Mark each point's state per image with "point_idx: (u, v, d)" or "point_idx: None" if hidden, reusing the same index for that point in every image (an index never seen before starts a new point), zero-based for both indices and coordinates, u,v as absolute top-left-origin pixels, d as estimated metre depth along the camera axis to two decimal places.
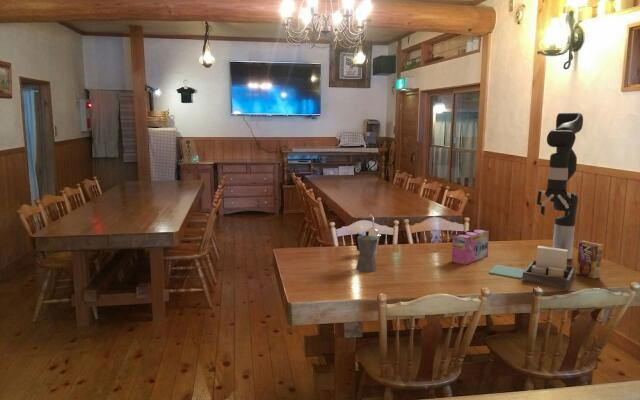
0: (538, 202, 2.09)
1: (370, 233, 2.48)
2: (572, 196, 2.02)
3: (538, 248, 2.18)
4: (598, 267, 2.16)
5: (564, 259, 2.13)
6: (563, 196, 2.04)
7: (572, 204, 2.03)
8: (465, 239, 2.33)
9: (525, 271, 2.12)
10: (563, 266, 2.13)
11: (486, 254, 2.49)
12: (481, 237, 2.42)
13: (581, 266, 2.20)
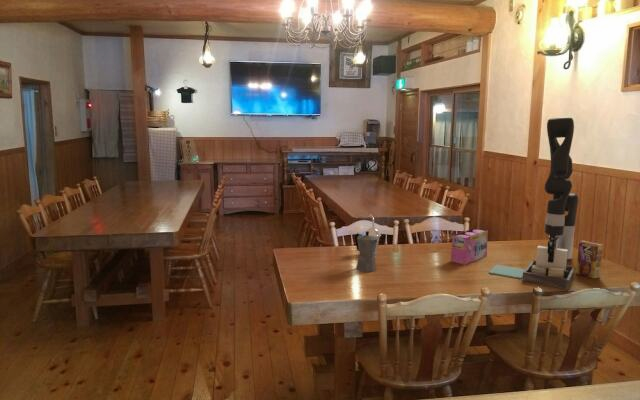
0: (553, 252, 2.12)
1: (370, 233, 2.48)
2: None
3: (538, 248, 2.18)
4: (598, 267, 2.16)
5: (564, 259, 2.13)
6: None
7: None
8: (464, 239, 2.33)
9: (525, 271, 2.12)
10: (563, 266, 2.13)
11: (485, 254, 2.49)
12: (480, 237, 2.42)
13: (581, 266, 2.20)
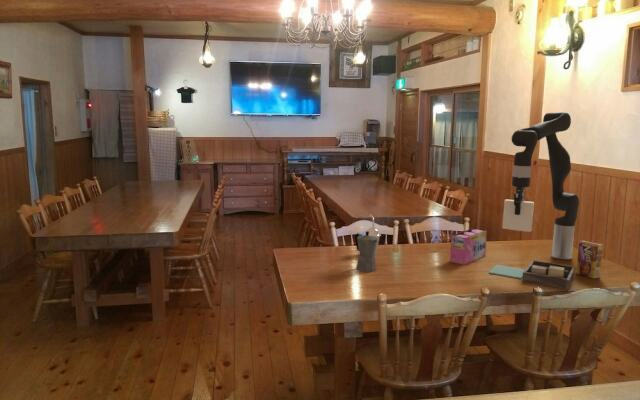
0: (520, 203, 2.13)
1: (370, 233, 2.48)
2: None
3: (505, 201, 2.19)
4: (598, 267, 2.16)
5: (530, 211, 2.14)
6: None
7: None
8: (464, 239, 2.33)
9: (525, 271, 2.12)
10: (529, 218, 2.14)
11: (484, 254, 2.49)
12: (479, 237, 2.43)
13: (581, 266, 2.20)
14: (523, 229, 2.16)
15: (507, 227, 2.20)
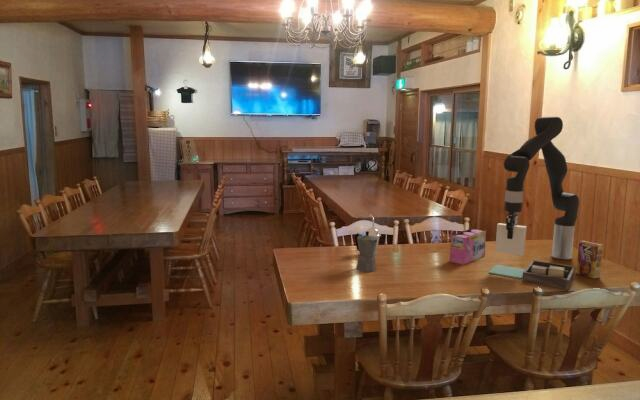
0: (512, 228, 2.16)
1: (370, 233, 2.48)
2: (517, 217, 2.24)
3: (498, 225, 2.22)
4: (598, 267, 2.16)
5: (522, 235, 2.17)
6: None
7: (516, 224, 2.23)
8: (463, 239, 2.33)
9: (525, 271, 2.12)
10: (521, 242, 2.17)
11: (483, 254, 2.49)
12: (478, 237, 2.43)
13: (581, 266, 2.20)
14: (515, 253, 2.19)
15: (500, 251, 2.23)
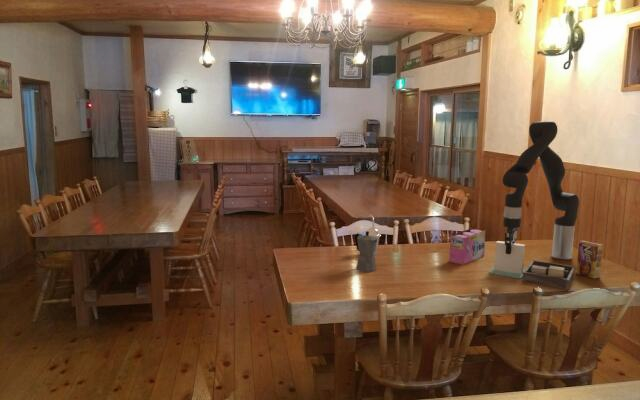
0: (510, 243, 2.16)
1: (370, 233, 2.48)
2: (516, 231, 2.25)
3: (497, 243, 2.23)
4: (598, 267, 2.16)
5: (521, 254, 2.18)
6: None
7: None
8: (463, 239, 2.33)
9: (525, 271, 2.12)
10: (520, 260, 2.19)
11: (483, 254, 2.49)
12: (478, 237, 2.43)
13: (581, 266, 2.20)
14: (514, 271, 2.21)
15: (499, 268, 2.24)
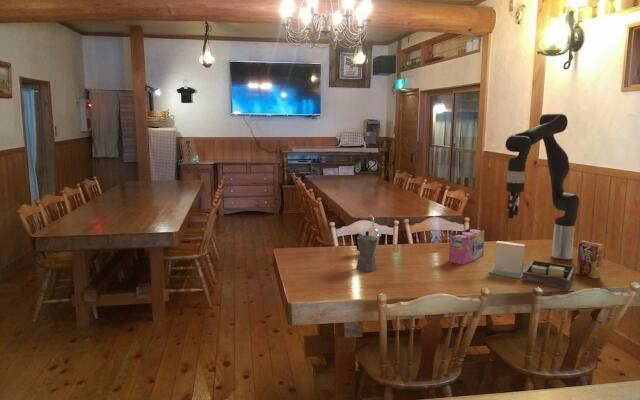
0: (513, 207, 2.13)
1: (370, 233, 2.48)
2: None
3: (497, 243, 2.23)
4: (598, 267, 2.16)
5: (521, 254, 2.18)
6: None
7: (519, 202, 2.23)
8: (463, 239, 2.33)
9: (525, 271, 2.12)
10: (520, 260, 2.19)
11: (482, 254, 2.49)
12: (477, 237, 2.43)
13: (581, 266, 2.20)
14: (514, 271, 2.21)
15: (499, 268, 2.24)
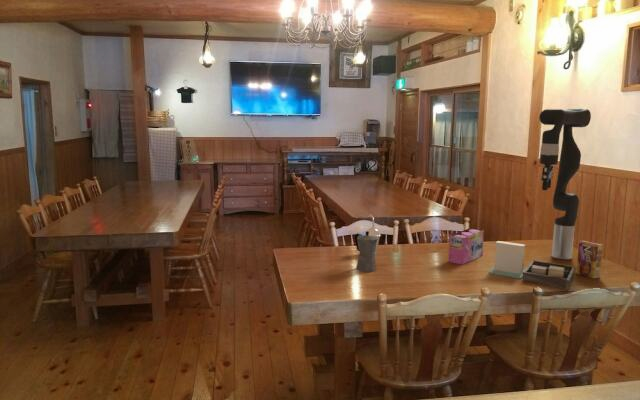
0: (547, 179, 2.16)
1: (370, 233, 2.48)
2: (552, 168, 2.26)
3: (497, 243, 2.23)
4: (598, 267, 2.16)
5: (521, 254, 2.18)
6: None
7: (552, 175, 2.27)
8: (462, 239, 2.33)
9: (525, 271, 2.12)
10: (520, 260, 2.19)
11: (481, 254, 2.49)
12: (476, 237, 2.43)
13: (581, 266, 2.20)
14: (514, 271, 2.21)
15: (499, 268, 2.24)
